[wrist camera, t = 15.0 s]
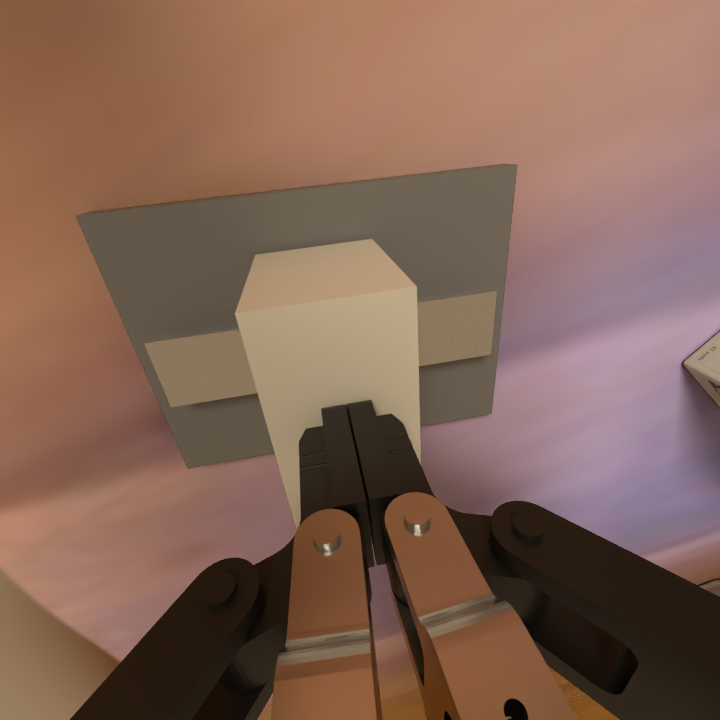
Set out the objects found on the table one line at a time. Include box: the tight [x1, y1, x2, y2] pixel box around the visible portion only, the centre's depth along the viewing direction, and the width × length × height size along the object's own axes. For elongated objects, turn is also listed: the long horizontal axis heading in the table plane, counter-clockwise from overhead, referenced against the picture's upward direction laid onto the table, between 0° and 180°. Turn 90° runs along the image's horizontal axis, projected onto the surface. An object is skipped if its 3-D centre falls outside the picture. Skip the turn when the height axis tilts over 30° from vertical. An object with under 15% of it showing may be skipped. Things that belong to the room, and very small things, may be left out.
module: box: [235, 239, 421, 527], centre depth 14 cm, size 8×4×6 cm, turn 6°
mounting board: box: [76, 164, 517, 469], centre depth 17 cm, size 12×16×1 cm
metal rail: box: [144, 290, 497, 407], centre depth 16 cm, size 3×14×1 cm, turn 96°
